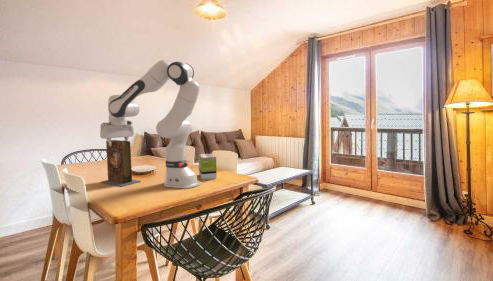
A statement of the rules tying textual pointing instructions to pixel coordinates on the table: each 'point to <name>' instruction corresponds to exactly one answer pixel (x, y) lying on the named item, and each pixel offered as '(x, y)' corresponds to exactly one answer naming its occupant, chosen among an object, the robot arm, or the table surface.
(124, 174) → the book
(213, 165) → the tea box
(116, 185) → the mat
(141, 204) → the table surface
